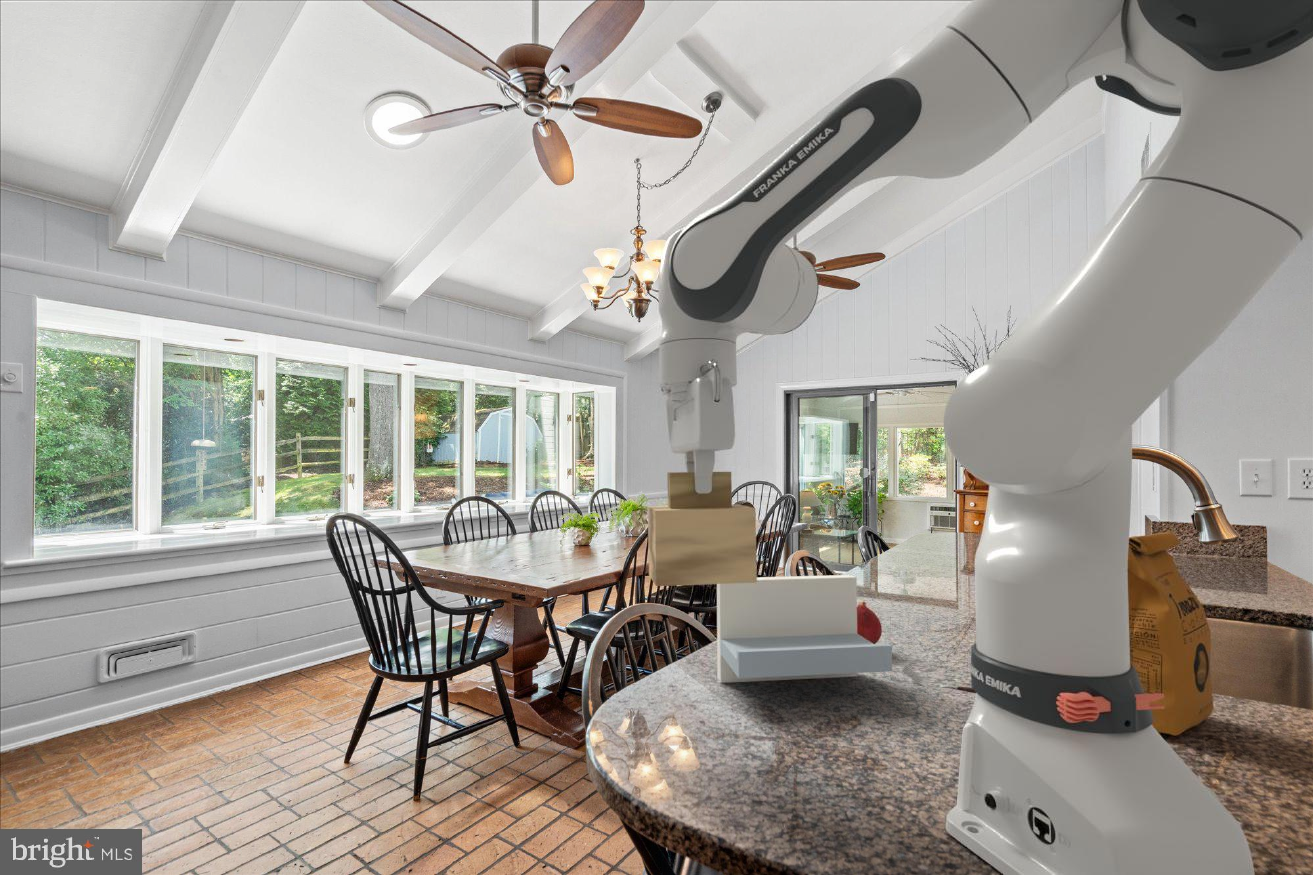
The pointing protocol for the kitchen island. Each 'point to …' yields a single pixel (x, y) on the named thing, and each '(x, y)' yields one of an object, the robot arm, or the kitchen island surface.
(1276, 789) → the kitchen island surface
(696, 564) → the stacked wooden blocks
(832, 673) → the wall shelf
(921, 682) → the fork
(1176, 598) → the coffee package
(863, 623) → the onion
